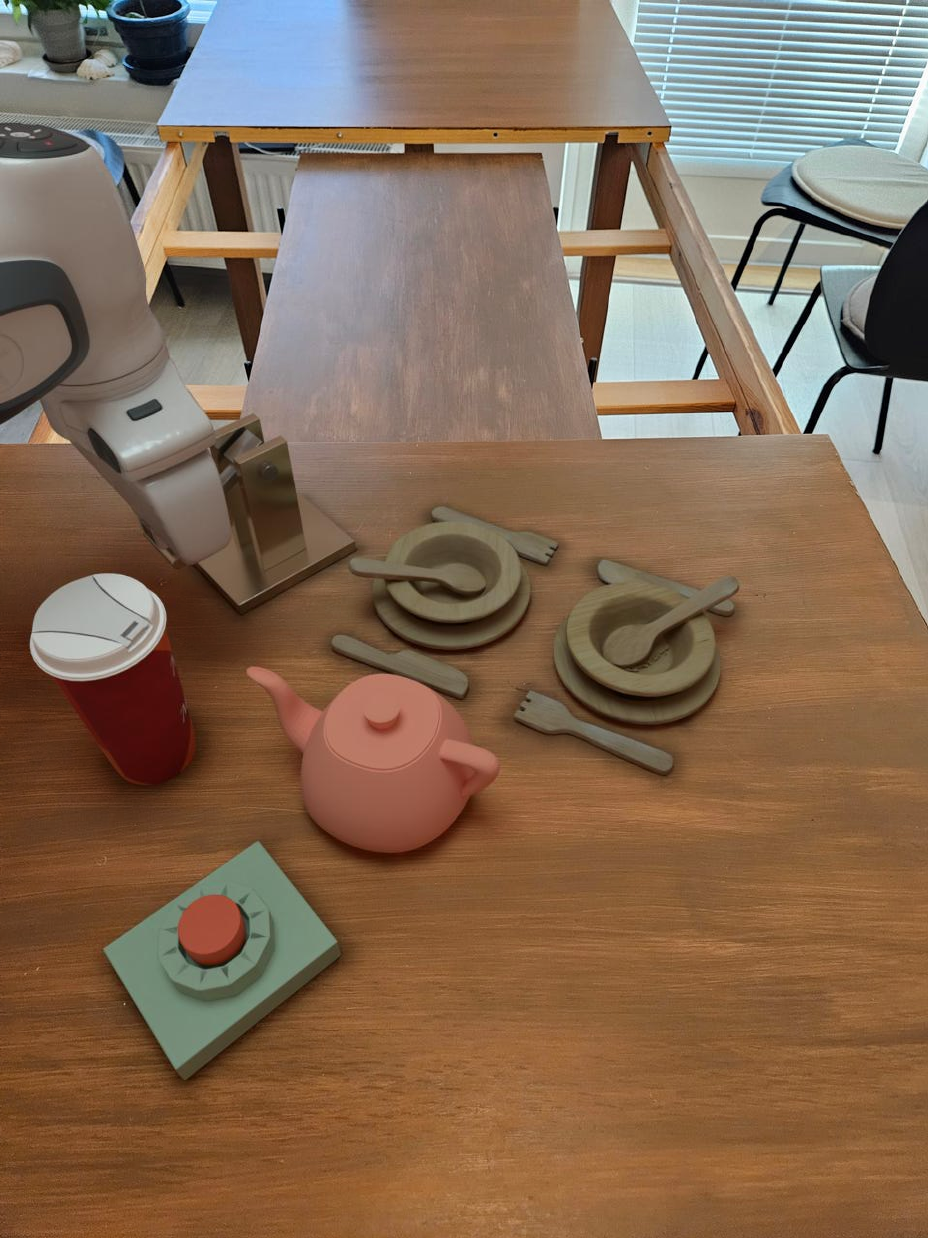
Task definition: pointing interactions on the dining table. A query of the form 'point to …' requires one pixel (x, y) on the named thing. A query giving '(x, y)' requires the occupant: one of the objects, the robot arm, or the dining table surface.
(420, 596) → the tableware set
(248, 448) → the lever
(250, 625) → the dining table surface
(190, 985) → the button box
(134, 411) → the robot arm
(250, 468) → the metal lever stand
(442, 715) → the teapot
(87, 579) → the coffee cup
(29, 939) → the dining table surface
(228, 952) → the button
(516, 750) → the dining table surface
